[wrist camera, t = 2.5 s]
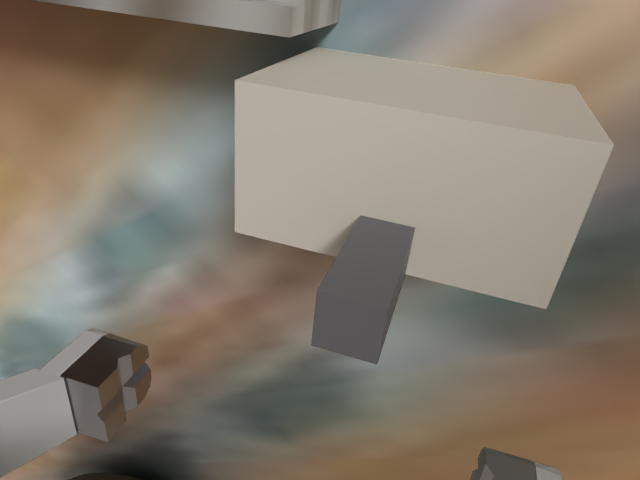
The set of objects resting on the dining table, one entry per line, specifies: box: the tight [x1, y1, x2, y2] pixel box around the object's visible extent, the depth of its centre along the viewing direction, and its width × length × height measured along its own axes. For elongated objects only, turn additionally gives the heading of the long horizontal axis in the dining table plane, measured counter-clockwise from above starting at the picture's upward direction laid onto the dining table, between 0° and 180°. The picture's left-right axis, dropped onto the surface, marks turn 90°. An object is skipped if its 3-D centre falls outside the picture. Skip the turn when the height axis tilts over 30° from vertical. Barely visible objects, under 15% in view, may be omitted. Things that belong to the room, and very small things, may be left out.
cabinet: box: [235, 47, 614, 364], centre depth 18 cm, size 12×6×14 cm, turn 84°
